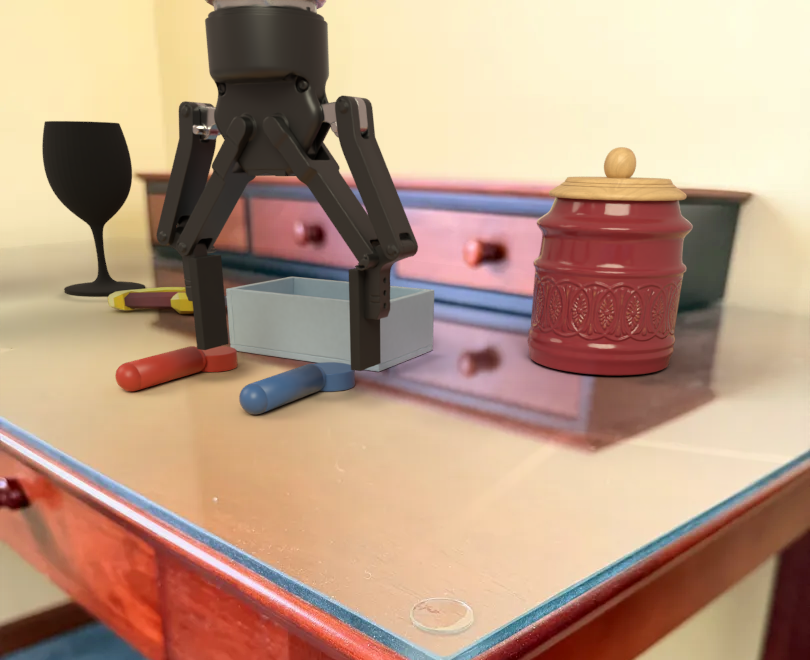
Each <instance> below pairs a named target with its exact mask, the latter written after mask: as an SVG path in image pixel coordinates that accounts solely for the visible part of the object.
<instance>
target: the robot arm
mask: <svg viewBox="0 0 810 660" xmlns="http://www.w3.org/2000/svg"><path fill="white" fill-rule="evenodd" d="M204 1H205V3H207V4H209V5H210V6H212V7H213V11H210V12H209V13H208V14H207V17H206V18H205V19H204V23H205V36H206V37H205V38H206V48H207V61H208V72H209V75H210V77H211V79H212V80H213V82H214V84H215V85H216V89H217V99H216V104H215V106H214V105H213V104H212V103H208V102H198V101H197V102H196V101H187V100H185V101H182V102H181V103H180V104H179V106H178V142H177V146H176V150H175V154H174V159H173V162H172V166H171V171H170V175H169V180H168V184H167V188H166V192H165V197H164V201H163V204H162V209H161V213H160V217H159V221H158V224H157V225H158V226H157V229H156V236H155V237H156V240H157V242H158V243H159V245H161V246H163V247H164V246H168V247H169V248H172V249H174V250H175V251H177V253H178V254H179V255H180V256H181V260H182V270H183V271H182V272H183V280H184V287H185V290H186V295H187V298H188V301H192V302H193V312H194V314H193V319H194V330H195V331H194V332H195V340H196V347H197V349H200V350H208V349H211V348H215V347H219V346H226V345H229V343H230V342H229V330H228V321H227V320H228V319H227V311H226V306H225V296H226V295H225V286H224V274H223V262H222V261H223V260H222V255H221V254H213V253H216V252H217V251H218V249H217V248H215V246H214V245H215V244H216V241H217V240H218V238H219V236H220V234H221V233H222V231H223V229H224V227H225V226H226V224H227V222H228V220H229V218H230V217H231V214H232V213H233V211H234V209H235V207H236V205H237V203H238V202H239V200H240V198H241V196H242V195H243V193H244V191H245V189H246V187H247V186H248V184H249V183H250V182H252V181H253V180H254V179H256V177H296V178H297V179H298V181H300V182H301V183H303V184H304V185H306V187H307V188H308V189H309V191H310V192H311V194H312V195H313V197H314V198H315V200H316V201H317V203H318V204H319V206H320V207H321V208H322V210H323V212H324V213H325V214H326V216H327V217H328V219H329V220H330V222H331V223H332V225H333V226H334V228H335V229H336V231H337V232H338V234H339V235H340V238H342V240H343V241H344V243H345V244H346V246H347V248H348V249H349V251H350V252H351V253H352V255H353V256H354V258H355V259H356V261H357V262H358V263H357V265H355V266H354V268H348V282H349V310H350V353H351V370H355V372H362V371H365V370H364V369H367V368H370V367H372V366H375V365H378V364H380V363H381V360H380V319H381V318H385V317H388V314H389V311H390V286H391V270H392V267H393V266H394V264H395V263H397V262H400V261H403V260H405V259H408V258H411V257H414V256H415V255H416V254H417V253H418V250H419V244H418V241H417V239H416V236H415V234H414V231H413V229H412V226H411V225H410V221H409V219H408V216H407V214H406V211H405V208H404V206H403V204H402V201H401V198H400V196H399V193H398V191H397V188H396V186H395V183H394V181H393V178H392V176H391V173H390V171H389V168H388V165H387V163H386V161H385V158H384V155H383V153H382V150H381V148H380V146H379V143H378V141H377V138H376V130H375V122H374V109H373V104H372V102H371V101H370V100H369V99H368V98H365V97H360V96H359V97H358V96H351V95H340V96H338V97H337V99H336V100H335V101H331V102H329V100H328V96H327V93H326V86H327V82H328V80H329V78H330V63H329V62H330V58H329V57H330V56H329V26H328V24H329V23H328V22H327V21H326V20H325V17H324V16H323V15H322V14H320V13H318V10H319V9H321V8H323V6H324V5H325V4H326V2H327V0H204ZM329 131H331V132H332V133H333V134H334V136H335V137H337V138H338V141H339V145H340V148H341V151H342V154H343V157H344V159H345V162H346V164H347V166H348V169H349V171H350V174H351V176H352V179H353V182H354V183H355V186H356V188H357V191H358V194H359V196H360V198H361V201H362V203H363V205H362V204H361V202H360V201H359V199H358V197H357V196H356V195H355V193H354V191H353V190H352V189H351V187H350V186H349V185H348V183H347V182H346V180H345V178H344V177H343V175H342V174H341V172H340V169H341V168H340V165H339V163H338V162H337V160H336V158H335V157H334V155H333V154H332V153H331V151H330V150H329V148H328V147H327V146H326V144H325V143H324V141H325V140H326V137H327V135H328V133H329ZM219 136H221V137H222V139H223V142H222V143H221V146H220V148H219V149H218V152H217V154H216V156H215V151H216V145H217V138H218V137H219ZM214 157H215V158H214ZM211 169H212V173H211V175H210V171H211ZM209 175H210V177H209ZM208 254H209V255H208Z"/></svg>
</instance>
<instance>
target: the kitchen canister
mask: <svg viewBox="0 0 810 660" xmlns="http://www.w3.org/2000/svg"><path fill="white" fill-rule="evenodd" d="M636 168H637V157H636V154H635V153H634V151H633V150H632V149H630V148H628V147H626V146H625V147H623V146H620V147H619V146H618V147H615V148H612V149H611V150H610V151H609V152H608V153H607V155H606V157H605V159H604V163H603V173H604V176H568V177H566V178H565V180H564V181H563V182H562V183H560V184H559V185H556V186H555V187H554V188H552V189H550V190H549V192H548V196H549V197H553V198H554V201H553V202H552V205H551V207H550V210H549V211H548V212H547V213H545V214H544V215H542V216H540V217H539V218H538V219H537V220H536V226H537V228H538V229H539V230H540V231H541V241H540V249H539V254H538V256H537V257H536V258H535V259H534V261H533V262H532V264H533V267H534V277H533V291H532V302H531V303H532V304H531V314H530V315H531V317H530V325H529V327H528V331H527V334H528V338H527V346H528V350H529V351H528V353H529V354H528V355H529V358H530V359H531V360H532V361H533V362H535V363H536V364H539V365H541V366H543V367H547V368H550V369H554V370H559V371H563V372H569V373H577V374H583V375H584V374H585V375H596V376H637V375H645V374H646V375H647V374H652V373H656V372H660V371H662V370H664V369H666V368H667V367H668V366H669V364H670V360H671V357H672V355H673V354H674V351H675V346H674V345H675V344H676V336H675V335H676V334H675V331H676V324H677V318H678V311H679V305H680V300H681V299H680V298H681V292H682V291H681V290H682V285H683V279H684V274H685V273H686V272H687V265H686V264H685V263H684V262H683V250H684V242H685V238H686V237H687V236H688V235H689V233H691V231H692V230H693V229H694V228H693V227H694V225H693V224H692V223H691V222H690V220H688V219H686V218H685V216H683V214H682V212H681V206H680V201H683V200H684V201H685V200H686V199H687V196H688V195H687V194H686V193H685V192H684V191H683V190H681V189H680V188H679V187H677V186H676V185H675V184H674V183H673V180H672V179H671V178H664V177H663V178H661V177H633V175H634V173H635V172H636Z"/></svg>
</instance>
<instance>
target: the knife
mask: <svg viewBox="0 0 810 660" xmlns="http://www.w3.org/2000/svg"><path fill="white" fill-rule="evenodd" d="M145 288H146V287H145ZM224 296H225V307H227V296H226V295H224ZM107 303H108V307H110V308H113V309H115V310H120V311H134V310H175V311H176V312H177V313H178V314H180V315H194V312H193V302H192V301H188V298H187V295H186V290H185V286H162V287H160V286H159V287H147V288H146V289H135V290H124V291H117V292H114V293H112V294H110V295H109V296H107Z"/></svg>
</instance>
